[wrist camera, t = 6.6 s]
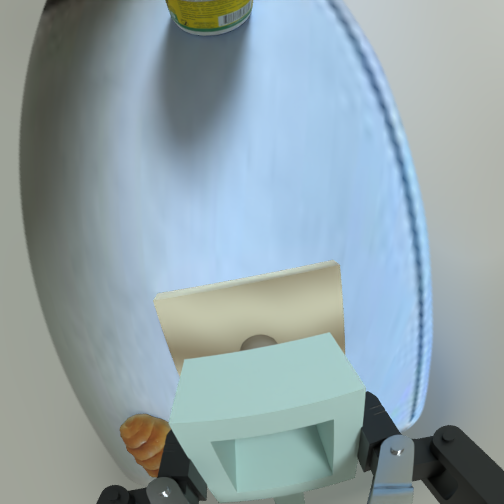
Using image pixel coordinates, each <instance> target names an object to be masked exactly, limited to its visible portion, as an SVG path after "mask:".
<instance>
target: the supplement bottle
mask: <svg viewBox="0 0 504 504" xmlns="http://www.w3.org/2000/svg"><path fill="white" fill-rule="evenodd" d="M165 1H166V3H167V7H168V9H169V12H170V15H171V17H172V19H173V21H174V22H175V23H176V24H177V26H178V27H179V28H181V29H182V30H184V31H186V32H188V33H190V34H195V35H203V36H208V35H219V34H223V33H226V32H229V31H232V30H234V29H235V28H237V27H239V26H240V25H242V24H243V23H244V22H245V21H246V20H247V19H248V17H249V16H250V14H251V11H252V6H253V0H165Z"/></svg>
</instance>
